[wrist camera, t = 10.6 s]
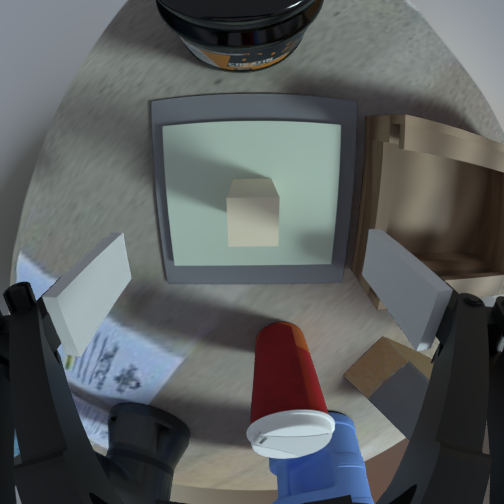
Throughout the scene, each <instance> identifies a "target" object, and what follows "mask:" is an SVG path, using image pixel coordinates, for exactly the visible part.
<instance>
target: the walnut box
mask: <svg viewBox="0 0 504 504" xmlns="http://www.w3.org/2000/svg"><path fill="white" fill-rule="evenodd" d="M369 229H381V230H383V231H384V232H385V233H387V234H388V235H389V236H390V237H392V238H393V239H394V240H396V241H397V242H398V243H399V244H400V245H402V246H403V247H404V248H405V249H407V250H408V251H409V252H410V253H411V254H413V255H414V256H415V257H416V258H417V259H419V260H420V261H421V262H422V263H423V264H425V265H426V266H427V267H428V268H429V269H431V270H433V271H435V272H436V273H437V274H438V275H439V276H440V277H441V278H443V279H444V280H445V282H447V283H448V284H449V285H450V286H451V287H452V288H454V289H455V290H456V291H457V292H458V293H459V294H461V293H469V294H473V295H475V296H477V297H478V298H483V297H489V296H494V295H500V294H504V145H503V144H501V143H498V142H496V141H493V140H490V139H488V138H485V137H482V136H480V135H477V134H474V133H471V132H468V131H465V130H462V129H459V128H456V127H452V126H449V125H445V124H442V123H438V122H435V121H431V120H427V119H423V118H419V117H415V116H410V115H406V114H402V115H378V116H365V143H364V162H363V176H362V188H361V199H360V209H359V218H358V226H357V234H356V241H355V248H354V255H353V261H352V268H351V270H352V271H353V273H354V274H355V276H356V277H357V279H358V280H359V282H360V284H361V285H362V287H363V288H364V290H365V292H366V293H367V295H368V296H369V298H370V300H371V301H372V303H373V304H374V306H375V308H376V309H377V310H387V308H386V307H385V305H384V304H383V303H382V301H381V300H380V298H379V297H378V296H377V294H376V293H375V292H374V290H373V289H372V288H371V286H370V285H369V284H368V282H367V281H366V280H365V278H364V277H363V276H362V272H363V266H364V260H365V254H366V247H367V241H368V233H369Z"/></svg>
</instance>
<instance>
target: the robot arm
mask: <svg viewBox="0 0 504 504" xmlns="http://www.w3.org/2000/svg"><path fill="white" fill-rule="evenodd" d="M362 276H363V277H364V278H365V280H366V281H367V282H368V284H369V285H370V286H371V288H372V289H373V290H374V292H375V293H376V294H377V296H378V297H379V298H380V300H381V301H382V303H383V304H384V305H385V307H386V308H387V310H388V311H389V312H390V314H391V315H392V317H393V318H394V319H395V321H396V322H397V324H398V325H399V327H400V328H401V329H402V331H403V332H404V334H405V335H406V337H407V338H408V340H409V341H410V343H411V344H412V346H413V347H414V349H415V350H416V351H420V350H425V349H429V348H431V346H432V344H433V341H434V339H435V337H437V338H438V340H439V341H440V343H439V345H438V348H437V350H436V352H435V354H434V356H433V358H432V360H431V362H430V363H432V364H433V362H434V364H433V368H432V372H431V376H430V380H429V384H428V388H427V391H426V395H425V398H424V401H423V405H422V408H421V411H420V414H419V417H418V420H417V423H416V425H415V428H414V431H413V434H412V436H411V439H410V442H409V444H408V447H407V449H406V451H405V454H404V456H403V458H402V460H401V463H400V465H399V467H398V469H397V471H396V474H395V476H394V478H393V480H392V482H391V484H390V485H389V487H388V488H387V490H386V491H385V492H384V493H383V495H382V496H381V497H380V499H379V500H378V501H377V503H376V504H482V503H483V500H484V496H485V492H486V488H487V484H488V480H489V475H490V504H504V347H503V350H502V352H501V348H502V346H503V344H504V297H503V296H499V297H497V299H496V301H495V303H494V306H493V307H488V306H485V304H484V302H483V301H482V300H481V299H480V298H478V297H477V296H475V295H473V294H469V293H461V294H459V293H458V292H457V291H456V290H455V289H454V288H452V287H451V286H450V285H449V284H448V283H447V282H445V280H444V279H443V278H441V277H440V276H439V275H438V274H437V273H436V272H435V271H433V270H431V269H429V268H428V267H427V266H426V265H425V264H423V263H422V262H421V261H420V260H419V259H417V258H416V257H415V256H414V255H413V254H411V253H410V252H409V251H408V250H407V249H405V248H404V247H403V246H402V245H400V244H399V243H398V242H397V241H396V240H394V239H393V238H392V237H390V236H389V235H388V234H387V233H385V232H384V231H383V230H381V229H369V233H368V241H367V247H366V254H365V260H364V266H363V272H362ZM131 279H132V278H131V273H130V268H129V263H128V258H127V253H126V247H125V241H124V235H123V233H111V234H109V235H108V236H107V237H106V238H105V239H103V240H102V241H101V242H100V243H99V244H98V245H96V246H95V247H94V248H93V249H92V250H91V251H90V252H88V253H87V254H86V255H85V256H84V257H83V258H82V259H81V260H79V261H78V262H77V263H76V264H75V265H74V266H73V267H72V268H71V269H70V270H69V271H67V272H66V273H65V274H64V275H63V276H62V277H60V278H59V279H58V280H57V281H56V282H55V283H54V285H52V286H51V287H50V288H49V289H48V290H47V291H46V292H45V293H44V294H43V295H42V296H41V297H40V298H39V299H38V300H37V301H36V299H35V296H34V293H33V290H32V288H31V285H30V283H29V282H20V283H16V284H14V285H12V286H10V287H9V288H8V289H7V290H6V291H5V292H4V294H3V296H4V298H5V301H6V304H7V306H8V309H9V311H10V313H11V315H6V316H3V315H2V313H1V310H0V504H186V503H178V502H171V501H170V495H171V487H172V481H173V474H174V469H175V467H176V465H177V464H178V462H179V460H180V459H181V457H182V455H183V454H184V452H185V450H186V449H187V447H188V444H189V438H190V432H189V429H188V428H187V427H186V425H185V424H184V423H182V422H181V421H180V420H178V419H177V418H175V417H174V416H172V415H170V414H168V413H166V412H164V411H161V410H159V409H156V408H153V407H150V406H146V405H141V404H136V403H120V404H117V405H115V406H113V407H112V409H111V412H110V414H109V417H108V441H109V448H108V451H107V455H106V456H104V455H102V454H100V453H98V452H96V451H94V450H93V448H92V446H91V444H90V441H89V439H88V437H87V434H86V432H85V430H84V427H83V425H82V422H81V420H80V417H79V414H78V412H77V409H76V406H75V403H74V400H73V398H72V395H71V392H70V388H69V385H68V382H67V379H66V375H65V372H64V368H63V365H62V361H61V357H60V355H59V353H58V350H57V348H58V347H59V346H60V344H62V346H63V349H64V351H65V353H66V355H71V356H76V357H81V356H82V354H83V353H84V351H85V349H86V348H87V346H88V344H89V343H90V341H91V339H92V338H93V336H94V335H95V333H96V331H97V330H98V328H99V327H100V325H101V323H102V322H103V320H104V319H105V317H106V316H107V314H108V313H109V311H110V310H111V308H112V307H113V305H114V304H115V302H116V301H117V299H118V298H119V296H120V295H121V293H122V292H123V290H124V289H125V287H126V286H127V284H128V283H129V282H130V280H131ZM486 419H487V426H488V436H489V450H490V455H489V454H483V453H482V447H483V441H484V435H485V426H486ZM302 504H368V503H358V502H352V499H351V494H350V495H346V496H341V497H336V498H331V499H325V500H319V501H313V502H306V503H302Z"/></svg>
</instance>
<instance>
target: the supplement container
mask: <svg viewBox="0 0 504 504" xmlns="http://www.w3.org/2000/svg"><path fill="white" fill-rule="evenodd" d="M323 2H324V0H156V5H157V9H158V12H159V14H160V16H161V18H162V19H163V21H164V22H165V23H166V25H167V26H168V27H169V28H170V29H171V30H172V31H173V32H174V33H176V34H177V35H178V36H179V37H180V38H181V39H182V41H183V42H184V43H185V45H186V47H187V48H188V50H189V51H190V52H191V53H192V54H193V55H194V56H195V57H196V58H197V59H198V60H200V61H201V62H203V63H204V64H206V65H208V66H210V67H212V68H215V69H218V70H221V71H226V72H232V73H250V72H256V71H261V70H264V69H267V68H270V67H273V66H275V65H277V64H279V63H280V62H282V61H283V60H285V59H286V58H287V57H289V56H290V55H291V54H292V53H293V52H294V50H295V49H296V48H297V46H298V45H299V43H300V42H301V40H302V37H303V35H304V33H305V31H306V30H307V28H308V27H309V25H310V24H311V23H312V22H313V21H314V20H315V18H316V17H317V15H318V14H319V12H320V10H321V8H322V5H323Z"/></svg>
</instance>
